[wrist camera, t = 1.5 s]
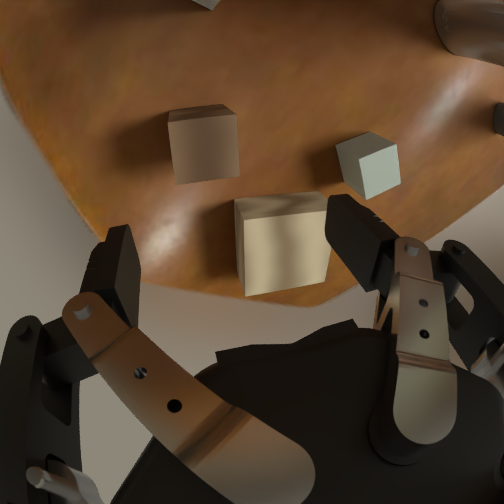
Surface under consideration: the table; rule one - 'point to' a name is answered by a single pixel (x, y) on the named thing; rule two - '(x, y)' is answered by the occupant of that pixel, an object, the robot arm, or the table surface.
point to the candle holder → (499, 119)
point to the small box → (208, 3)
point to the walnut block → (203, 143)
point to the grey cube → (369, 164)
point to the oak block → (281, 241)
